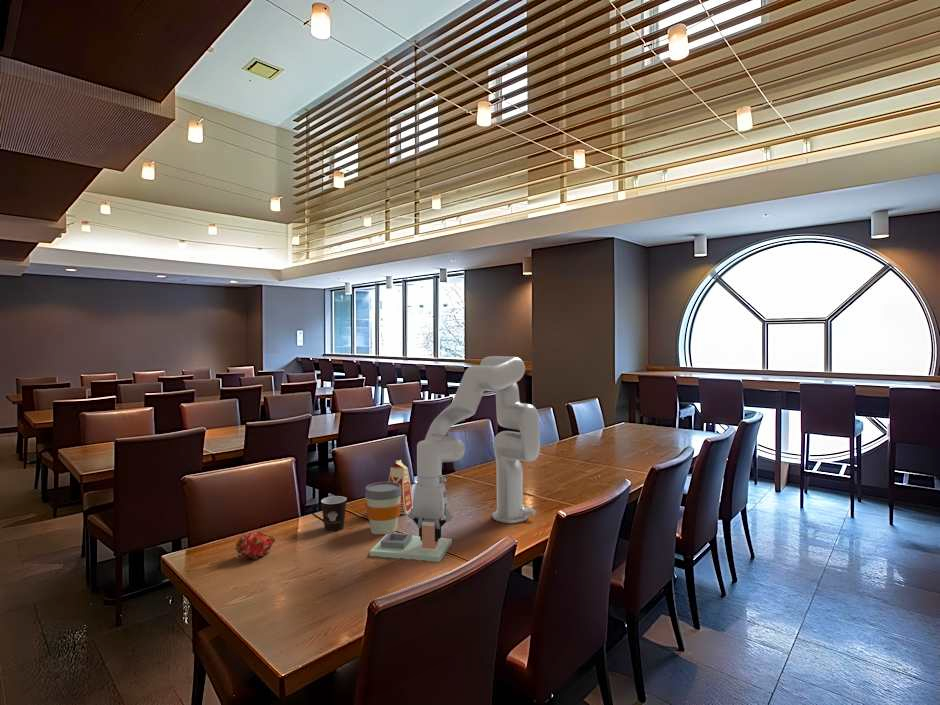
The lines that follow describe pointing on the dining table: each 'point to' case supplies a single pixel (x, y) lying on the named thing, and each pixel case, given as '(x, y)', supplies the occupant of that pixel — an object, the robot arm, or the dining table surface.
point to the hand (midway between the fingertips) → (430, 539)
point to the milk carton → (402, 485)
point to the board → (409, 547)
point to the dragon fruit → (254, 545)
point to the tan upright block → (428, 533)
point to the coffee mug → (332, 512)
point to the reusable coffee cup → (383, 506)
